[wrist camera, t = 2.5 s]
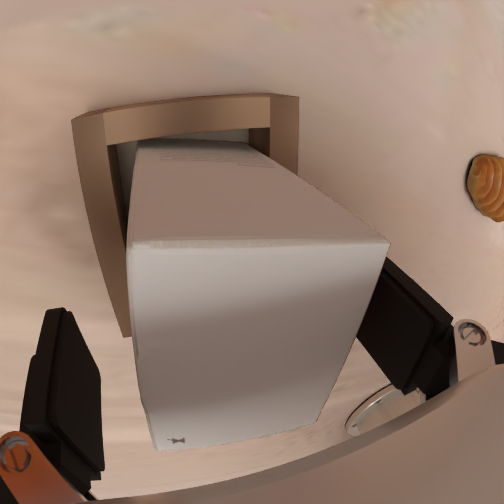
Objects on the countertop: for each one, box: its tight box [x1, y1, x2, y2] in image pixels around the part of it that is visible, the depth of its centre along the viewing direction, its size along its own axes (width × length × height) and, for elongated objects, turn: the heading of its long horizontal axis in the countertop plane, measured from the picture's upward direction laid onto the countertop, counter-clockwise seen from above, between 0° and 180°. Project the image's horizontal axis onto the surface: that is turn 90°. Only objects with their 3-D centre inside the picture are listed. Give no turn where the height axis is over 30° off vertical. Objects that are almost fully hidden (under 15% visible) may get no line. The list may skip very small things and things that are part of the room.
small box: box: [126, 139, 391, 450], centre depth 14 cm, size 8×6×13 cm
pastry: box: [467, 155, 504, 222], centre depth 25 cm, size 9×7×4 cm
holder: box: [71, 94, 299, 338], centre depth 18 cm, size 11×13×4 cm
